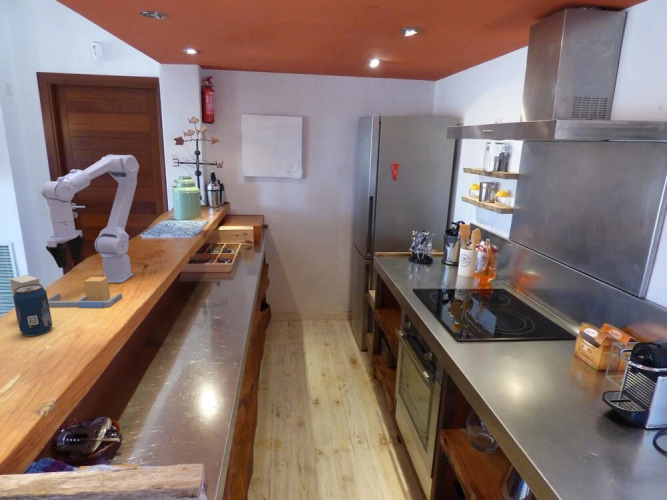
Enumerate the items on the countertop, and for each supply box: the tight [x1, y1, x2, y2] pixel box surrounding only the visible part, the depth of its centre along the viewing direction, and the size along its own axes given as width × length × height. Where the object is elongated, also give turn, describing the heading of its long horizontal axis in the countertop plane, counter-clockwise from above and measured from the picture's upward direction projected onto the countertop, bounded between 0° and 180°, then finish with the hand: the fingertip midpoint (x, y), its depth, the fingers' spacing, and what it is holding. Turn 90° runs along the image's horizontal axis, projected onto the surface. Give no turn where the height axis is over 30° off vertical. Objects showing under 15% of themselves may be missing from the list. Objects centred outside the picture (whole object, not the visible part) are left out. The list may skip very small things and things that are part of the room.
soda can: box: [12, 284, 53, 337], centre depth 107 cm, size 7×7×12 cm
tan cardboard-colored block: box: [83, 276, 111, 301], centre depth 127 cm, size 4×5×7 cm
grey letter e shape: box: [47, 292, 123, 309], centre depth 127 cm, size 8×20×2 cm, turn 92°
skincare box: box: [9, 274, 41, 321], centre depth 113 cm, size 6×4×12 cm
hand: (69, 263), depth 131 cm, fingers open, 7 cm apart
